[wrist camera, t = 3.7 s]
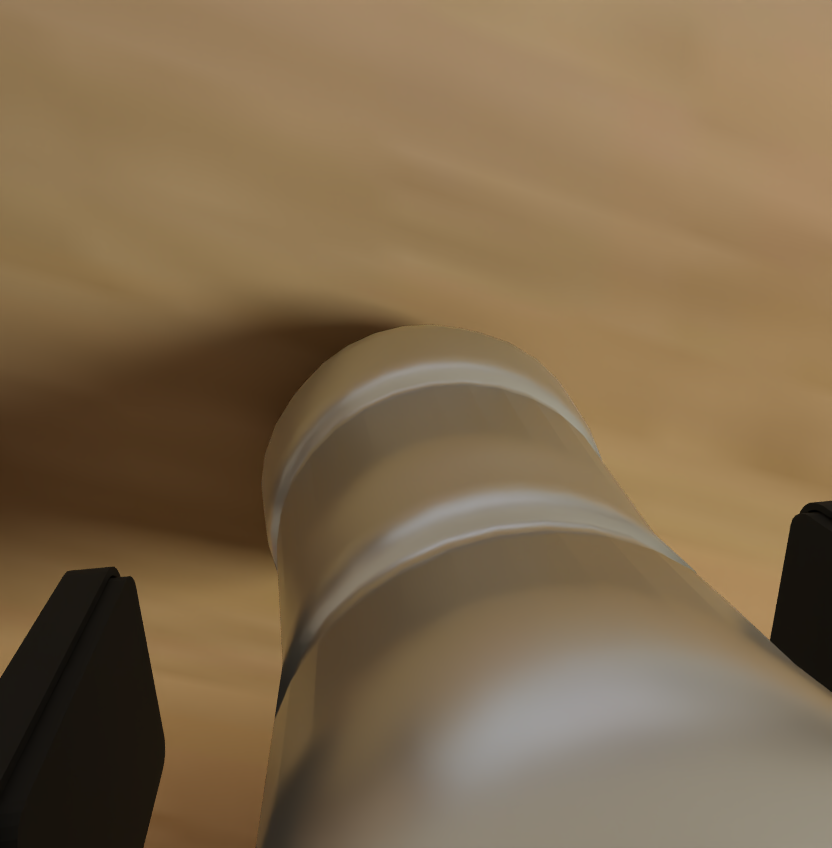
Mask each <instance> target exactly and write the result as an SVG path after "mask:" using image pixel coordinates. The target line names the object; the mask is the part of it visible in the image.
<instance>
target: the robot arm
mask: <svg viewBox="0 0 832 848" xmlns="http://www.w3.org/2000/svg"><path fill="white" fill-rule="evenodd" d="M770 641H771V642H772V643H773V644H774V645H775V646H776V647H777V648H778V649H779V650H780V651H781V652H782V653H784V654H785V655H786V656H787V657H788V658H789V659H790V660H791V661H792V662H793V663H794V664H795V665H797V666H798V667H799V668H801V669H802V670H803V671H804V672H806V673H807V674H808V675H810V676H811V677H812V678H814V679H815V680H816V681H818V682H819V683H820V684H822V685H823V686H824V687H825V688H827V689H828V690H829V691H831V692H832V501H825V502H814V503H809V504H807V505H805V506H804V507H803V509H802V510H801V511H800V514H798V515H796V516H795V517H794V518H793V520H792V523H791V526H790V532H789V537H788V543H787V549H786V554H785V560H784V565H783V571H782V576H781V582H780V588H779V593H778V599H777V604H776V610H775V616H774V621H773V627H772V632H771V638H770ZM164 758H165V739H164V733H163V727H162V722H161V717H160V712H159V706H158V701H157V696H156V690H155V685H154V680H153V674H152V669H151V664H150V658H149V653H148V648H147V642H146V637H145V632H144V627H143V621H142V616H141V611H140V605H139V600H138V595H137V589H136V585H135V582H134V579H133V578H132V577H131V576H128V577H120V574H119V572H118V570H117V569H116V568H115V567H105V568H94V569H83V570H73V571H67V572H66V573H65V575H64V576H63V577H62V579H61V581H60V582H59V584H58V585H57V587H56V589H55V590H54V592H53V594H52V595H51V597H50V598H49V600H48V602H47V603H46V605H45V606H44V608H43V610H42V611H41V613H40V615H39V616H38V618H37V619H36V621H35V623H34V624H33V626H32V628H31V629H30V631H29V632H28V634H27V636H26V637H25V639H24V641H23V642H22V644H21V645H20V647H19V649H18V650H17V652H16V654H15V655H14V657H13V658H12V660H11V662H10V663H9V665H8V667H7V668H6V670H5V671H4V673H3V675H2V676H1V678H0V848H143V847H144V843H145V839H146V835H147V831H148V827H149V823H150V819H151V815H152V811H153V807H154V803H155V799H156V795H157V791H158V787H159V783H160V779H161V775H162V771H163V766H164Z"/></svg>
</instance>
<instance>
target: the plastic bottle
mask: <svg viewBox="0 0 832 848" xmlns="http://www.w3.org/2000/svg"><path fill="white" fill-rule="evenodd" d="M261 486H262V495H263V505H264V514H265V522H266V530H267V538H268V545H269V548H270V551H271V554H272V557H273V560H274V563H275V566H276V569H277V572H278V586H279V605H280V624H281V644H282V664H283V667H282V673H281V680H280V686H279V693H278V700H277V707H276V714H275V721H274V727H273V733H272V740H271V747H270V754H269V760H268V767H267V774H266V781H265V788H264V794H263V801H262V808H261V815H260V821H259V828H258V835H257V842H256V848H832V692H831V691H829V690H828V689H827V688H825V687H824V686H823V685H822V684H820V683H819V682H818V681H816V680H815V679H814V678H812V677H811V676H810V675H808V674H807V673H806V672H804V671H803V670H802V669H801V668H799V667H798V666H797V665H795V664H794V663H793V662H792V661H791V660H790V659H789V658H788V657H787V656H786V655H785V654H784V653H782V652H781V651H780V650H779V649H778V648H777V647H776V646H775V645H774V644H773V643H772V642H771V641H770V640H769V639H767V638H766V637H765V636H764V635H763V634H762V633H761V632H760V631H759V630H758V629H757V628H756V627H755V626H753V625H752V624H751V623H750V622H749V621H748V620H747V619H746V618H745V617H744V616H743V615H742V614H741V613H740V612H738V611H737V610H736V609H735V608H734V607H733V606H732V605H731V604H730V603H729V602H728V601H727V600H726V599H725V598H723V597H722V596H721V595H720V594H719V593H718V592H717V591H716V590H714V589H713V588H712V587H711V586H710V585H709V584H708V583H707V582H705V581H704V580H703V579H702V578H701V577H700V576H699V575H697V573H696V572H695V571H694V570H693V569H692V568H691V567H690V566H689V565H688V564H687V563H686V562H685V561H684V560H682V559H681V558H680V557H679V556H678V555H677V554H676V553H675V552H674V551H673V550H672V549H671V548H669V547H668V546H667V545H666V544H665V543H664V542H663V541H662V540H661V539H660V538H659V537H657V536H656V535H655V534H654V532H653V531H652V530H651V528H650V527H649V525H648V524H647V523H646V521H645V520H644V518H643V517H642V516H641V514H640V513H639V512H638V510H637V509H636V507H635V506H634V505H633V503H632V502H631V500H630V499H629V498H628V496H627V495H626V494H625V492H624V491H623V489H622V488H621V487H620V485H619V484H618V482H617V481H616V480H615V478H614V477H613V475H612V474H611V473H610V471H609V470H608V469H607V467H606V466H605V464H604V463H603V462H602V459H601V457H600V454H599V451H598V449H597V446H596V444H595V441H594V438H593V436H592V433H591V431H590V428H589V427H588V425H587V424H586V422H585V420H584V419H583V417H582V416H581V414H580V412H579V411H578V409H577V407H576V406H575V404H574V403H573V401H572V400H571V398H570V397H569V395H568V394H567V392H566V391H565V389H564V388H563V386H562V385H561V384H560V382H559V381H558V379H557V378H556V377H555V376H554V375H553V374H552V373H550V372H549V371H548V370H547V369H546V368H545V367H544V366H543V365H542V364H541V363H540V362H539V361H538V360H537V359H535V358H534V357H532V356H530V355H529V354H527V353H525V352H524V351H522V350H520V349H519V348H517V347H515V346H514V345H512V344H510V343H508V342H505V341H503V340H500V339H497V338H494V337H491V336H488V335H485V334H482V333H479V332H475V331H471V330H467V329H463V328H456V327H449V326H441V325H434V324H431V325H413V326H402V327H398V328H394V329H390V330H386V331H382V332H378V333H374V334H372V335H370V336H367V337H365V338H363V339H361V340H359V341H356V342H354V343H352V344H350V345H348V346H346V347H345V348H343V349H342V350H341V351H339V352H338V353H336V354H335V355H334V356H332V357H331V358H329V359H328V360H326V361H325V362H324V363H323V364H322V365H321V366H320V367H319V368H318V369H317V370H316V371H315V372H314V373H313V374H312V375H311V376H310V377H309V378H308V379H307V381H306V382H305V383H304V384H303V385H302V386H301V387H300V389H299V390H298V391H297V392H296V394H295V395H294V396H293V397H292V399H291V400H290V402H289V404H288V405H287V407H286V409H285V410H284V412H283V413H282V415H281V417H280V418H279V420H278V421H277V423H276V425H275V427H274V430H273V433H272V436H271V438H270V441H269V444H268V447H267V450H266V452H265V458H264V466H263V474H262V482H261Z"/></svg>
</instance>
